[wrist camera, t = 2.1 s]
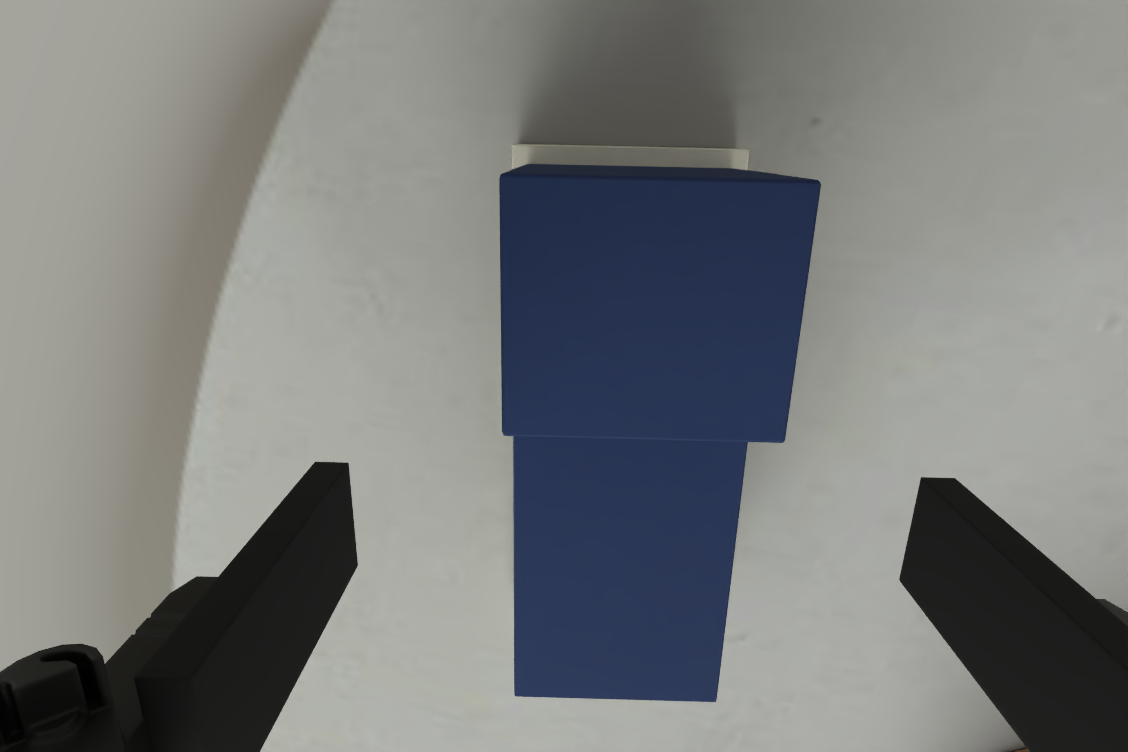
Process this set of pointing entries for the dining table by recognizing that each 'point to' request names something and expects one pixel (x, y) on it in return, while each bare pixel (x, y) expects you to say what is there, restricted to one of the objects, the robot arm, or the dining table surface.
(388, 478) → the dining table surface
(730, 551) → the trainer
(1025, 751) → the mug
